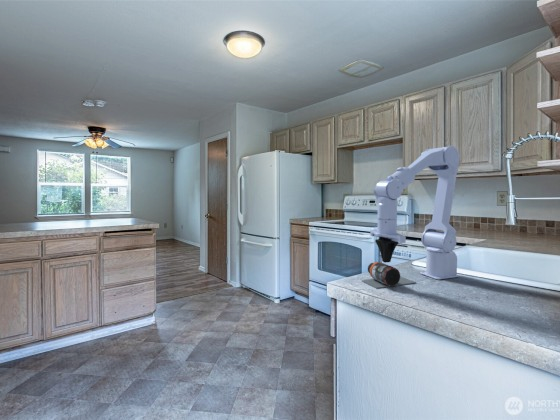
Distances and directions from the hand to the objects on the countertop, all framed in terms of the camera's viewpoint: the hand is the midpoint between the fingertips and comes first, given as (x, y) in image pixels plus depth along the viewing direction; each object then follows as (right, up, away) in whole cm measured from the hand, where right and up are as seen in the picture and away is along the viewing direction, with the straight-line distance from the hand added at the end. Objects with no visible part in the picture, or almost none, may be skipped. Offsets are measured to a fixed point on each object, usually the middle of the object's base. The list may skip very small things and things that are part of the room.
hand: (386, 261), depth 99 cm
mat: (+2, -7, +3) cm, 8 cm away
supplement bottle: (+1, -4, -3) cm, 5 cm away
